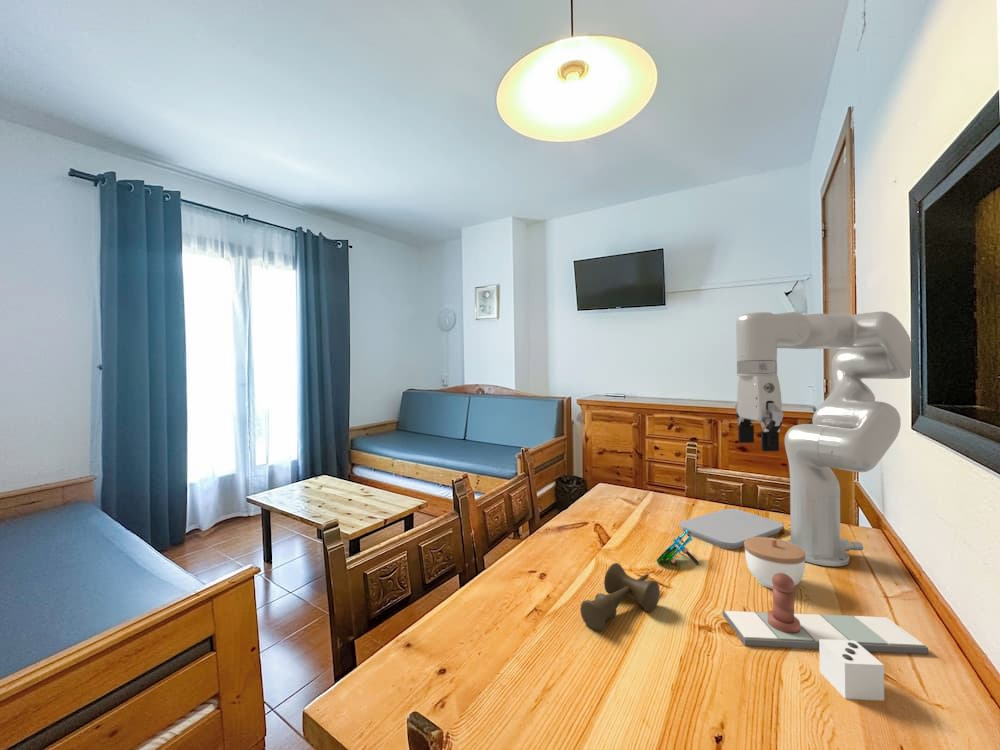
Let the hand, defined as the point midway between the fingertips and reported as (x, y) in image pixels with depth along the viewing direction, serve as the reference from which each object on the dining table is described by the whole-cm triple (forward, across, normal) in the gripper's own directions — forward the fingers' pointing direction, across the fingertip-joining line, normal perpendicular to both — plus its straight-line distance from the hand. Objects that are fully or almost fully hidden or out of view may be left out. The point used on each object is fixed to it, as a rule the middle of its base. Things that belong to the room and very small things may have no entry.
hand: (757, 446), depth 89 cm
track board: (+28, -20, +1) cm, 35 cm away
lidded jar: (+29, -4, -1) cm, 29 cm away
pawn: (+27, -20, +6) cm, 35 cm away
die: (+28, -32, +4) cm, 43 cm away
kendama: (+29, -15, +33) cm, 46 cm away
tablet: (+29, +24, -5) cm, 38 cm away
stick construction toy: (+29, +5, +16) cm, 33 cm away
